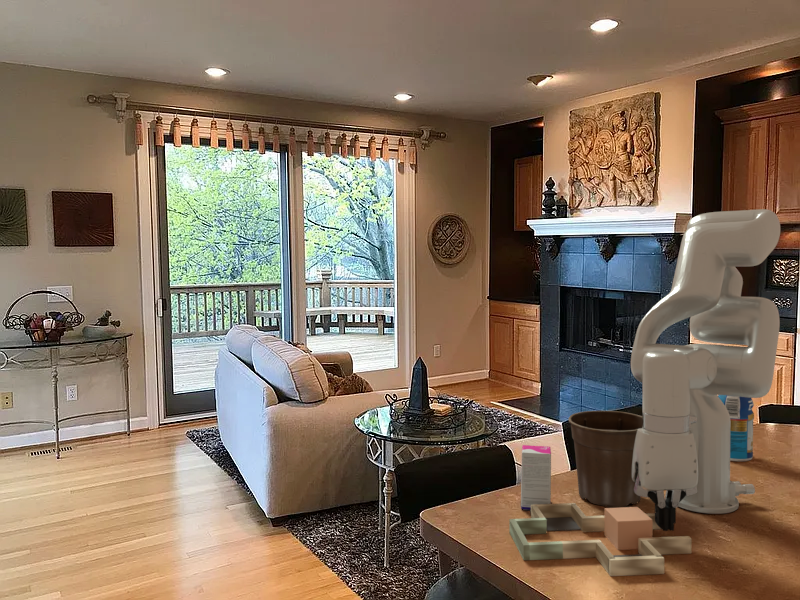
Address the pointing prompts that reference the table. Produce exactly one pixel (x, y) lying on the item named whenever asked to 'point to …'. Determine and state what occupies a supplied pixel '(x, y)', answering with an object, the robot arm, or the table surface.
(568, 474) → the table surface
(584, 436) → the plant pot
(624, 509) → the terracotta block
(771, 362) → the robot arm
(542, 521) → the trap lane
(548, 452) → the supplement box
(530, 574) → the table surface
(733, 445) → the blue cylindrical canister
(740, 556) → the table surface
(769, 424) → the table surface
